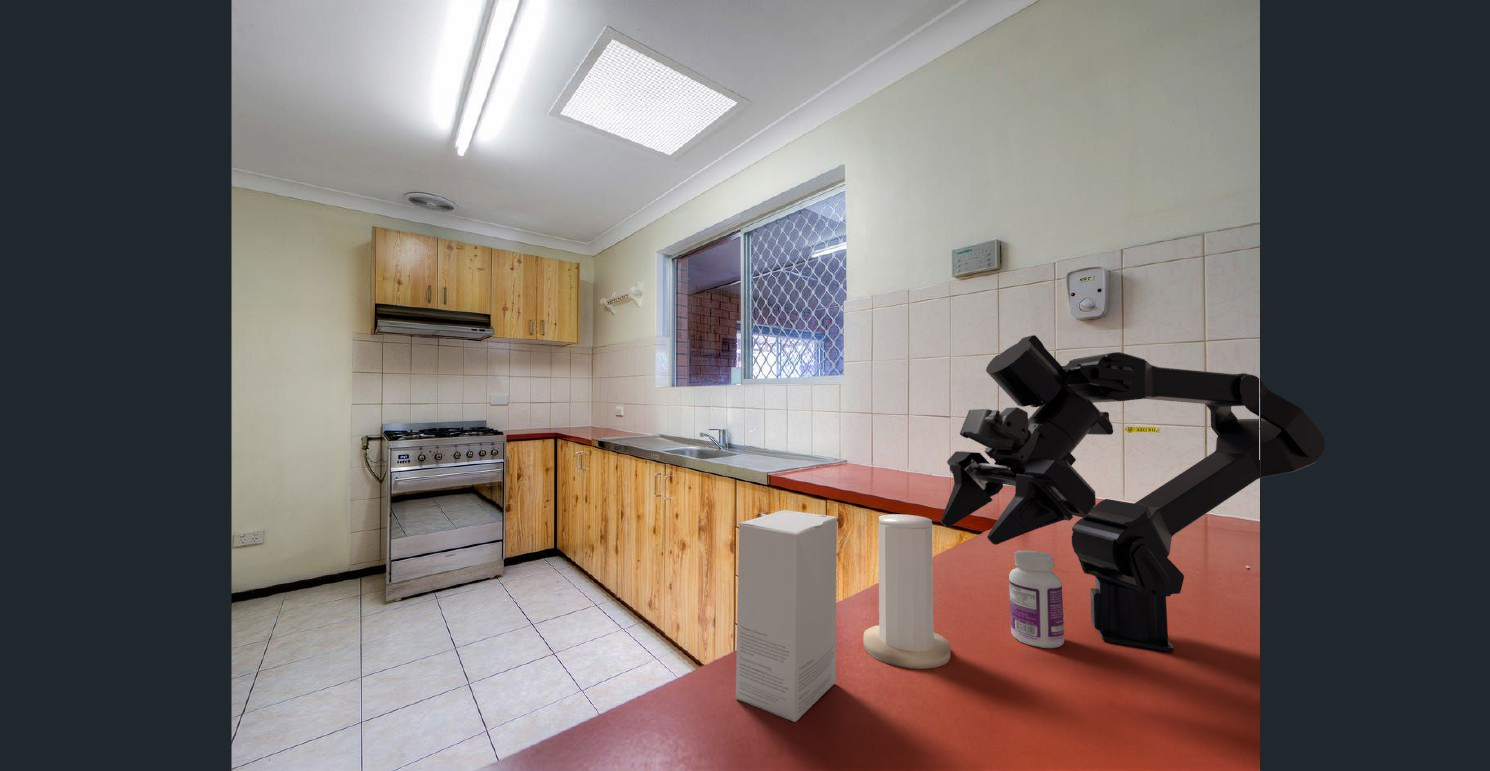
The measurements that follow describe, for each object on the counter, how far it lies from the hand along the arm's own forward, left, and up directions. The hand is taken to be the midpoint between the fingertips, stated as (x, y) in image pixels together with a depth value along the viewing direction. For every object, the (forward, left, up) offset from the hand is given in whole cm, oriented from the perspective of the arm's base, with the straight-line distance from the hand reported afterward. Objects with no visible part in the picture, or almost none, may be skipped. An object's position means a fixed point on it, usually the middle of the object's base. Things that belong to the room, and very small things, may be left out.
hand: (965, 532), depth 58 cm
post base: (+6, +4, -12) cm, 14 cm away
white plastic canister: (+6, +4, -11) cm, 14 cm away
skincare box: (+14, +19, -13) cm, 27 cm away
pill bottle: (-7, -6, -13) cm, 16 cm away
